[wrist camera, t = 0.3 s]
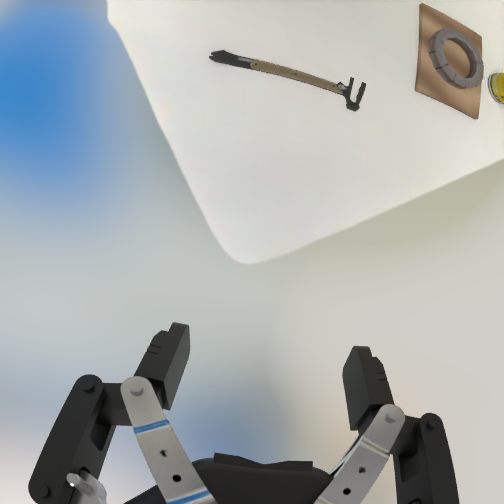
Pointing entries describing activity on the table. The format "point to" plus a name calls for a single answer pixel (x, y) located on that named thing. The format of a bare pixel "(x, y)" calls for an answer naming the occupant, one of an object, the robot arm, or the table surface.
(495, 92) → the supplement bottle
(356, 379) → the robot arm
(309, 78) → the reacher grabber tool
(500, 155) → the table surface
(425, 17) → the brown panel with ring
